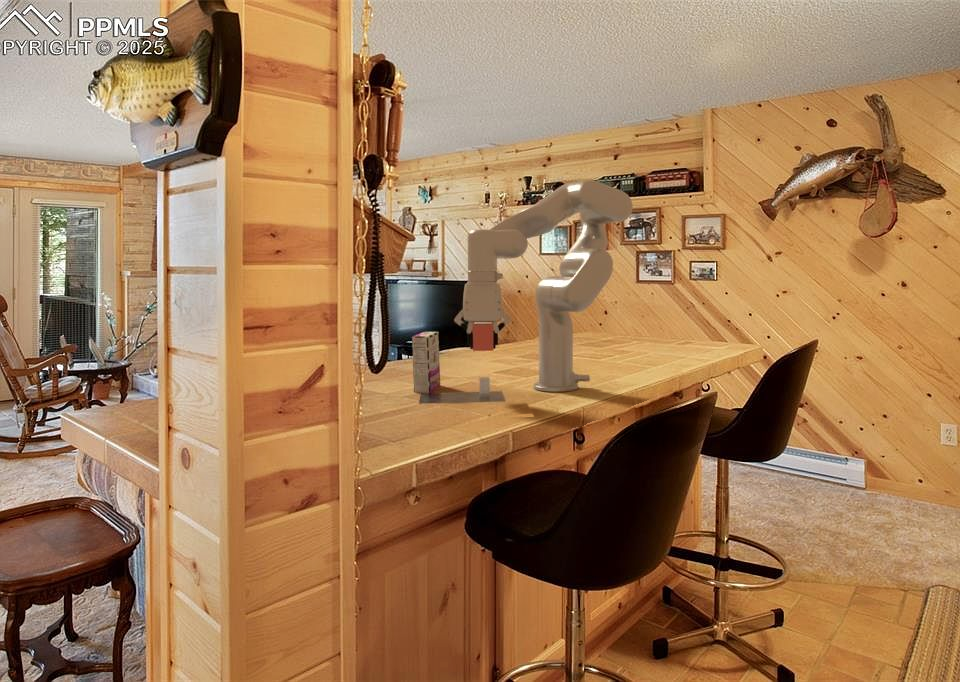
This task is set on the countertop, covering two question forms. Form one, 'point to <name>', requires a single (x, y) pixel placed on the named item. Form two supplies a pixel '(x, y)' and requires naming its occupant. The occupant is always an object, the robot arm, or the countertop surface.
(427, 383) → the candy bar box
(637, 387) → the countertop surface
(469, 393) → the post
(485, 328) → the red block
